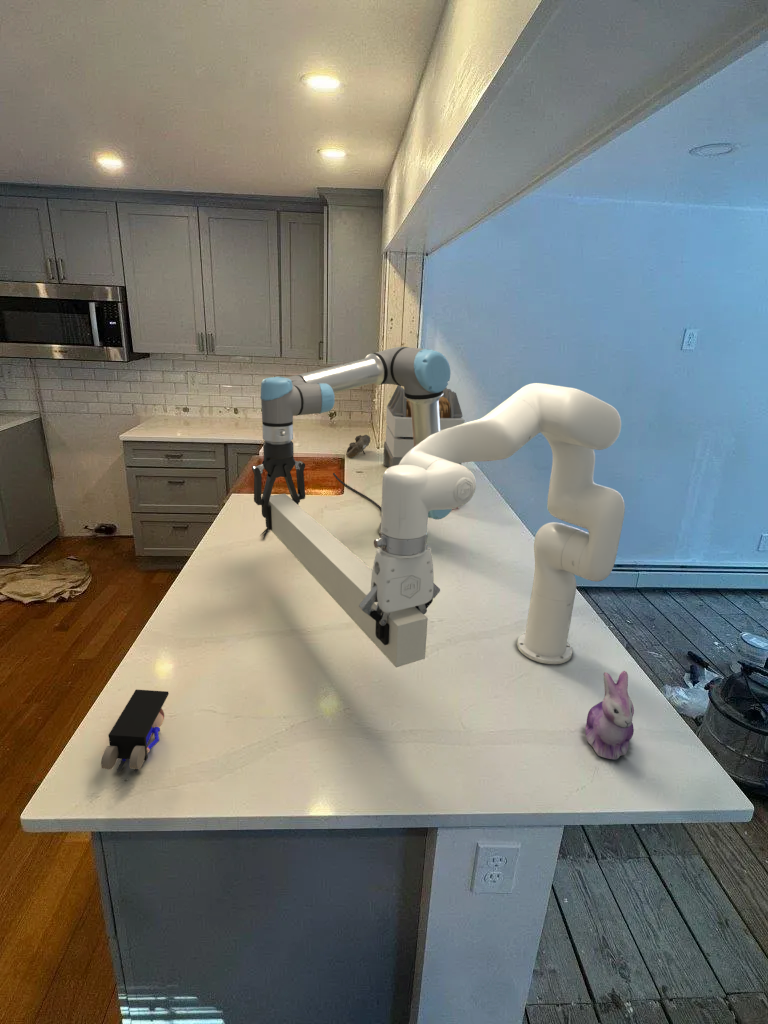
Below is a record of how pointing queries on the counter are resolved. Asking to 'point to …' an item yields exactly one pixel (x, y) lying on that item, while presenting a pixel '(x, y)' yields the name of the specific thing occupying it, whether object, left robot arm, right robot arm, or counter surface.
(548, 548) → the right robot arm
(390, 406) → the grey slatted crate
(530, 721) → the counter surface
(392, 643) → the bar
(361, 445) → the fossil
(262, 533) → the feather
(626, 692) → the figurine
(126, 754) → the figurine character
